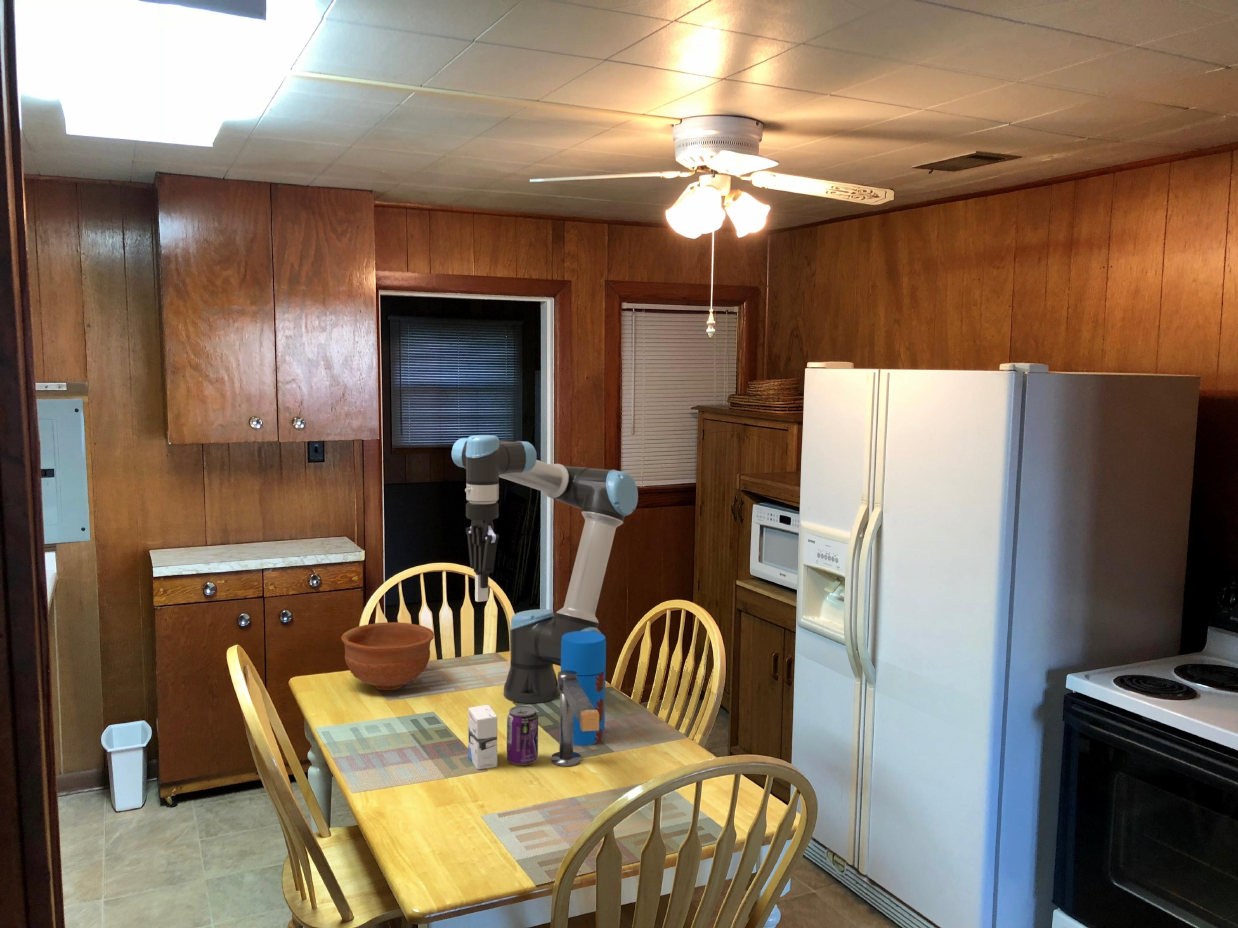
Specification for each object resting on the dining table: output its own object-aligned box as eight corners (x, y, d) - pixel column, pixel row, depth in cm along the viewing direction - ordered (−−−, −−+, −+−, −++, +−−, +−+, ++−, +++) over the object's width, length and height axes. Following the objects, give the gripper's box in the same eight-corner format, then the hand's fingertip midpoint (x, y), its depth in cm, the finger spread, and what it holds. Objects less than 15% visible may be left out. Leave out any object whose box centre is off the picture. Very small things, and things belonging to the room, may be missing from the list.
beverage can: (532, 768, 215) (533, 716, 214) (502, 765, 216) (502, 713, 215) (541, 756, 222) (542, 706, 221) (512, 753, 223) (512, 703, 222)
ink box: (467, 755, 221) (467, 706, 220) (488, 752, 223) (488, 703, 222) (476, 770, 214) (476, 718, 212) (498, 767, 216) (498, 716, 214)
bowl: (363, 669, 282) (363, 619, 280) (445, 674, 278) (446, 624, 277) (326, 697, 257) (326, 643, 256) (416, 704, 254) (416, 649, 252)
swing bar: (556, 686, 220) (556, 670, 219) (574, 685, 221) (575, 669, 221) (580, 731, 193) (580, 713, 193) (601, 729, 194) (601, 712, 194)
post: (567, 751, 225) (568, 683, 223) (587, 760, 220) (589, 690, 218) (544, 759, 220) (545, 689, 218) (564, 769, 215) (565, 697, 213)
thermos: (550, 736, 234) (552, 636, 231) (581, 725, 242) (583, 628, 239) (582, 749, 226) (583, 646, 224) (613, 737, 234) (615, 637, 232)
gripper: (455, 499, 228) (455, 596, 230) (479, 506, 217) (479, 608, 219) (484, 497, 232) (483, 593, 234) (509, 504, 221) (508, 604, 223)
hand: (481, 600), depth 227 cm, fingers closed
